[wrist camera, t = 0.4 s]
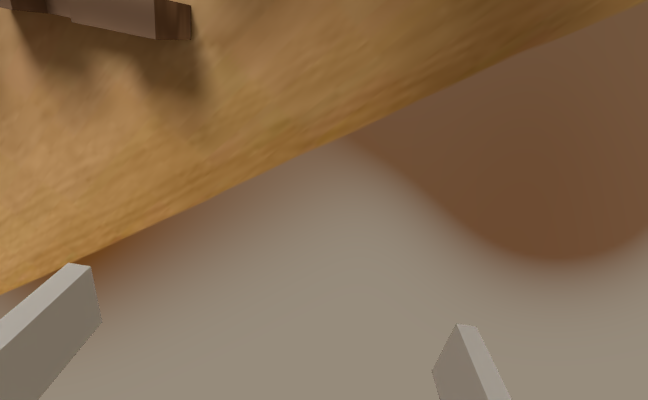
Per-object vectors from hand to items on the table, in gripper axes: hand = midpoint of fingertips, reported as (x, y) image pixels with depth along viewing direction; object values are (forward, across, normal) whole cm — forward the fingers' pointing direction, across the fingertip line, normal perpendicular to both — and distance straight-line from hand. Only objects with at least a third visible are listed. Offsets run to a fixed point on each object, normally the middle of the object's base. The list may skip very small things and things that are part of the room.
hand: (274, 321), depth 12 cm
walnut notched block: (+27, -23, +9) cm, 37 cm away
